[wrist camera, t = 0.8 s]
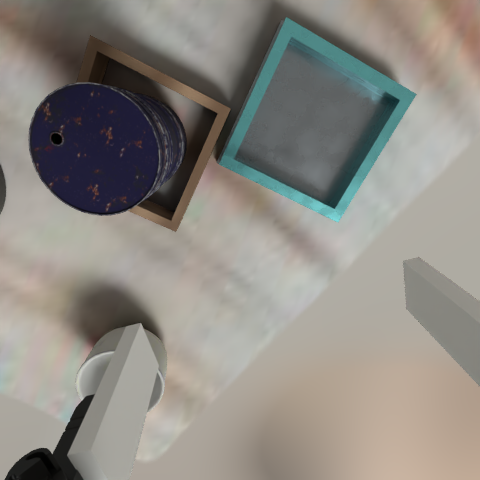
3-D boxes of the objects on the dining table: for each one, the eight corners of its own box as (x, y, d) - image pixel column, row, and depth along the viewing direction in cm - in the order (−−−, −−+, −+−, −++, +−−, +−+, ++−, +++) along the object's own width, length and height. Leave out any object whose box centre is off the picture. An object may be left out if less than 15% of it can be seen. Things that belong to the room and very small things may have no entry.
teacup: (101, 310, 46) (75, 347, 39) (178, 321, 47) (167, 359, 40) (97, 387, 51) (73, 433, 43) (167, 396, 52) (156, 442, 44)
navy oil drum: (199, 115, 38) (179, 113, 24) (173, 194, 41) (142, 234, 27) (113, 81, 36) (38, 56, 22) (94, 165, 39) (16, 190, 25)
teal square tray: (216, 161, 39) (215, 165, 36) (280, 22, 35) (285, 12, 31) (330, 217, 42) (338, 225, 39) (404, 95, 37) (420, 92, 34)
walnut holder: (64, 171, 40) (49, 175, 36) (103, 43, 35) (90, 35, 32) (180, 223, 42) (175, 231, 39) (230, 109, 38) (230, 108, 34)
